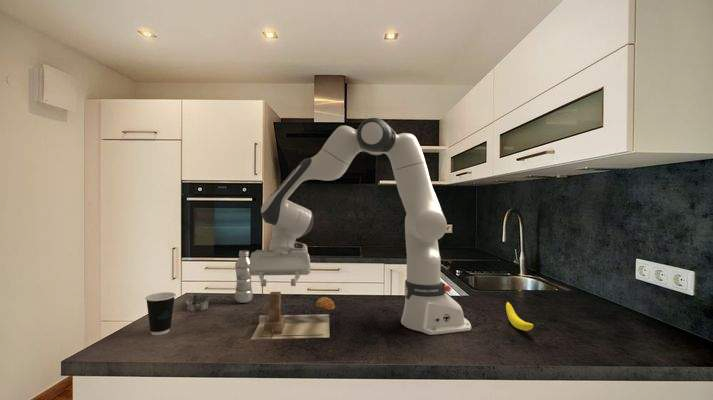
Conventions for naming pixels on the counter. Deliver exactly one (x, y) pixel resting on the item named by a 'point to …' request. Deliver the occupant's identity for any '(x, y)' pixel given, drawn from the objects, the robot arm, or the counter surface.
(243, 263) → the plastic bottle
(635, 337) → the counter surface
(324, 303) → the pastry
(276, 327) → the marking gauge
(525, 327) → the banana
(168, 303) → the dixie cup
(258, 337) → the birch board
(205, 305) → the egg carton
